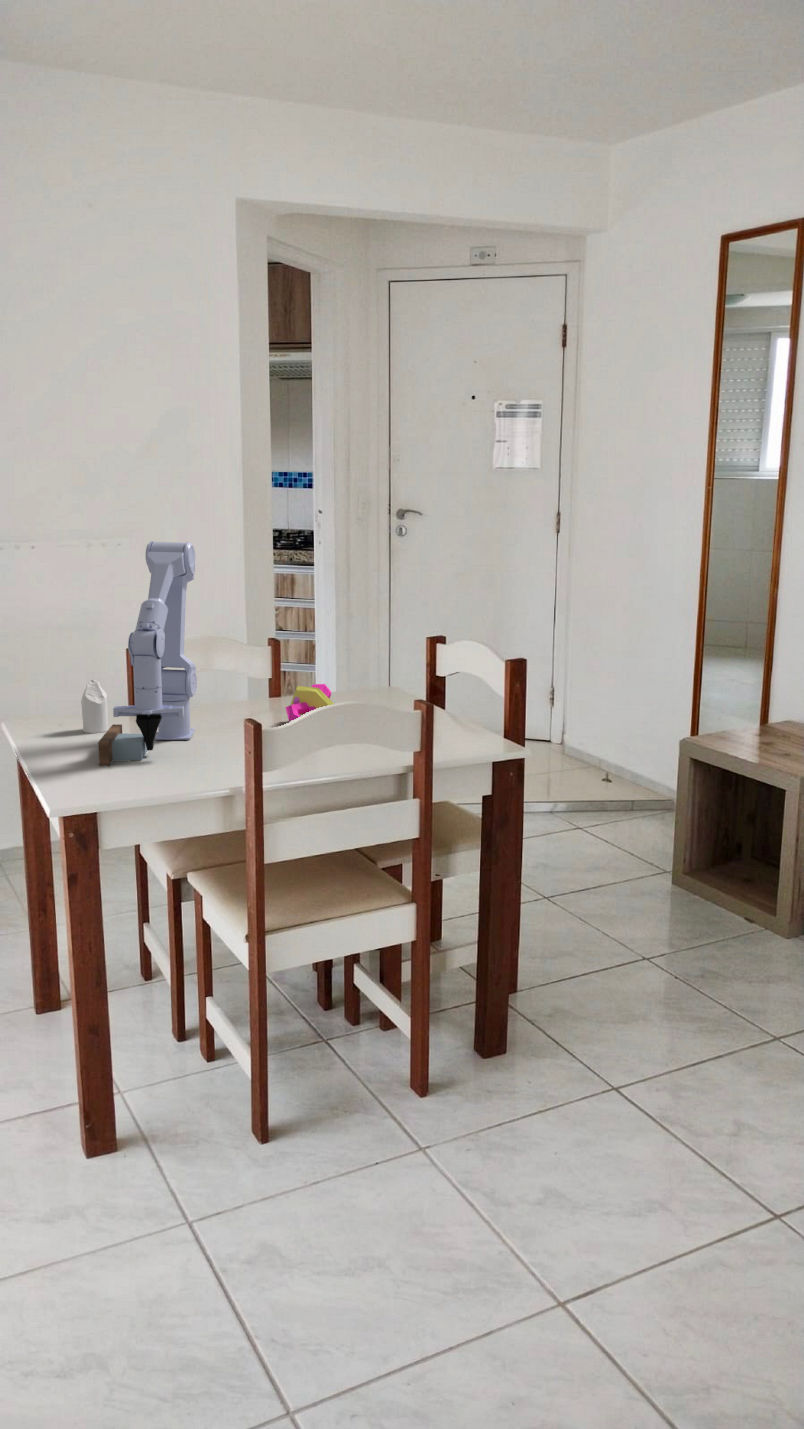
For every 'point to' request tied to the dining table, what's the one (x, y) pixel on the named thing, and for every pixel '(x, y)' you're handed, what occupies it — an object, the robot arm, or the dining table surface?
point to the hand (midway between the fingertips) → (150, 749)
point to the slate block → (128, 747)
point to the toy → (308, 700)
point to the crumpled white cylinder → (94, 708)
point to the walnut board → (108, 744)
